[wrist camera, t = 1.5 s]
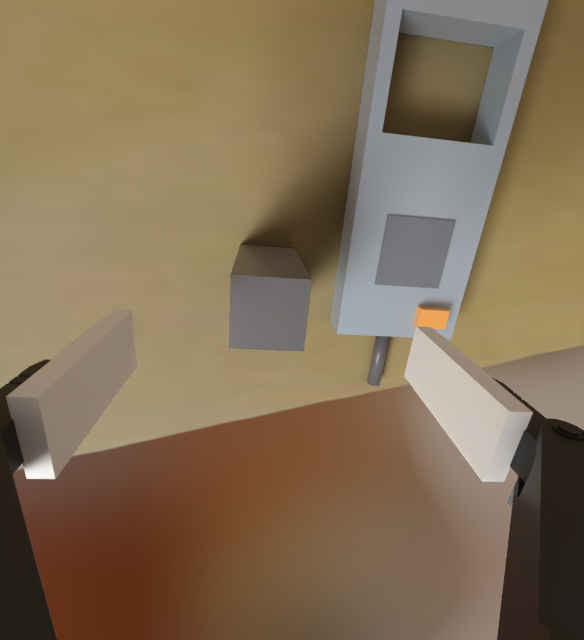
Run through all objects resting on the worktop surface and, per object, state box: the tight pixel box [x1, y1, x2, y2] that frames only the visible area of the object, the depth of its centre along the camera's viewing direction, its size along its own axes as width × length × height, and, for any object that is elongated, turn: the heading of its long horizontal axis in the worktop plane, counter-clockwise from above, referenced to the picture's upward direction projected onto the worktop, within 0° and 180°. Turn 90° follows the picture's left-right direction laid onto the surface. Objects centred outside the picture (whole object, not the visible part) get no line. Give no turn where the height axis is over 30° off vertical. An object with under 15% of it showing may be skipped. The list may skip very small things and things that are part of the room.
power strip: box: [330, 0, 549, 386], centre depth 26 cm, size 10×30×4 cm, turn 175°
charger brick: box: [229, 244, 312, 351], centre depth 24 cm, size 4×5×10 cm
